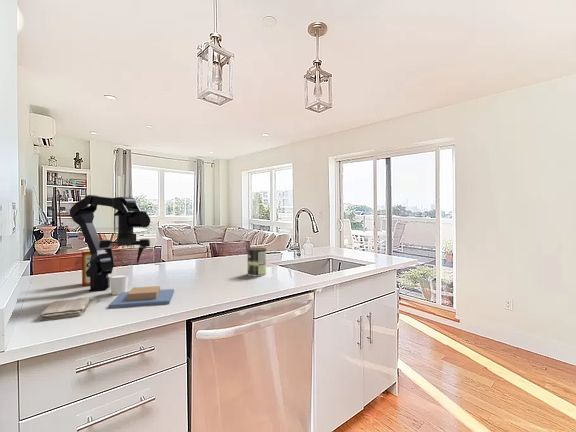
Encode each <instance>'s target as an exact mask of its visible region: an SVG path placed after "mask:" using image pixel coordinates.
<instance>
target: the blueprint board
mask: <svg viewBox="0 0 576 432" xmlns="http://www.w3.org/2000/svg"><path fill="white" fill-rule="evenodd" d="M174 293H175V289H174V288H170V289H169V288H168V289H161V285H157V286H156V285H155V286H152V285H151V286H139V287H138V286H136V287H132V288H131V290H129V291H127V292H122V293H121V294H120V295H117V296H116V297H115V298H114V299H113V300H112V301H111V302H110V303H109V304H108V309H118V308H119V309H120V308H132V307H145V306H157V305H159V306H160V305H161V304H162V305H170V303H171V300H172V298H173V296H174Z"/></svg>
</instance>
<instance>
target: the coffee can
mask: <svg viewBox="0 0 576 432" xmlns="http://www.w3.org/2000/svg"><path fill="white" fill-rule="evenodd" d="M246 275H247V276H249V277H264V276H266V275H267V248H266V247H249V248H247V274H246Z"/></svg>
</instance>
